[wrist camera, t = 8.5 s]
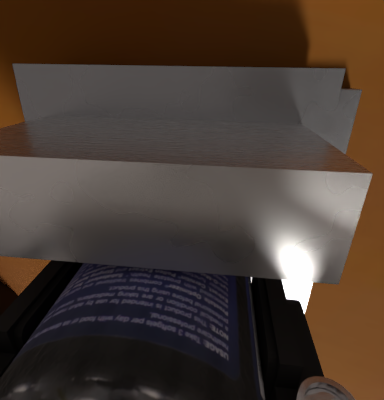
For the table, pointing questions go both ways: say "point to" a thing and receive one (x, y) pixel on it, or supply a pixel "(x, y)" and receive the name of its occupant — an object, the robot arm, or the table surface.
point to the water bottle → (6, 297)
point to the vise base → (184, 170)
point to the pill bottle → (142, 339)
